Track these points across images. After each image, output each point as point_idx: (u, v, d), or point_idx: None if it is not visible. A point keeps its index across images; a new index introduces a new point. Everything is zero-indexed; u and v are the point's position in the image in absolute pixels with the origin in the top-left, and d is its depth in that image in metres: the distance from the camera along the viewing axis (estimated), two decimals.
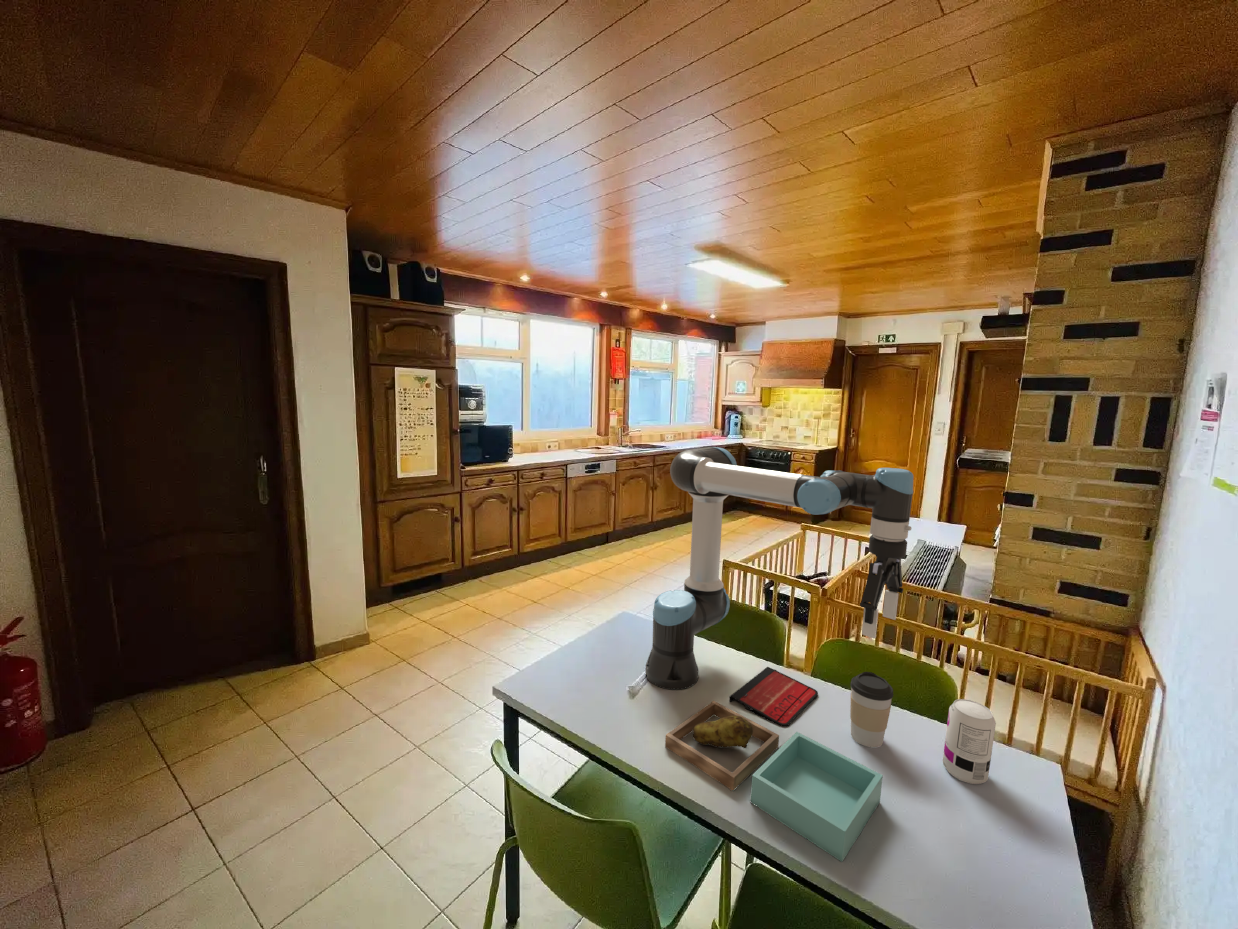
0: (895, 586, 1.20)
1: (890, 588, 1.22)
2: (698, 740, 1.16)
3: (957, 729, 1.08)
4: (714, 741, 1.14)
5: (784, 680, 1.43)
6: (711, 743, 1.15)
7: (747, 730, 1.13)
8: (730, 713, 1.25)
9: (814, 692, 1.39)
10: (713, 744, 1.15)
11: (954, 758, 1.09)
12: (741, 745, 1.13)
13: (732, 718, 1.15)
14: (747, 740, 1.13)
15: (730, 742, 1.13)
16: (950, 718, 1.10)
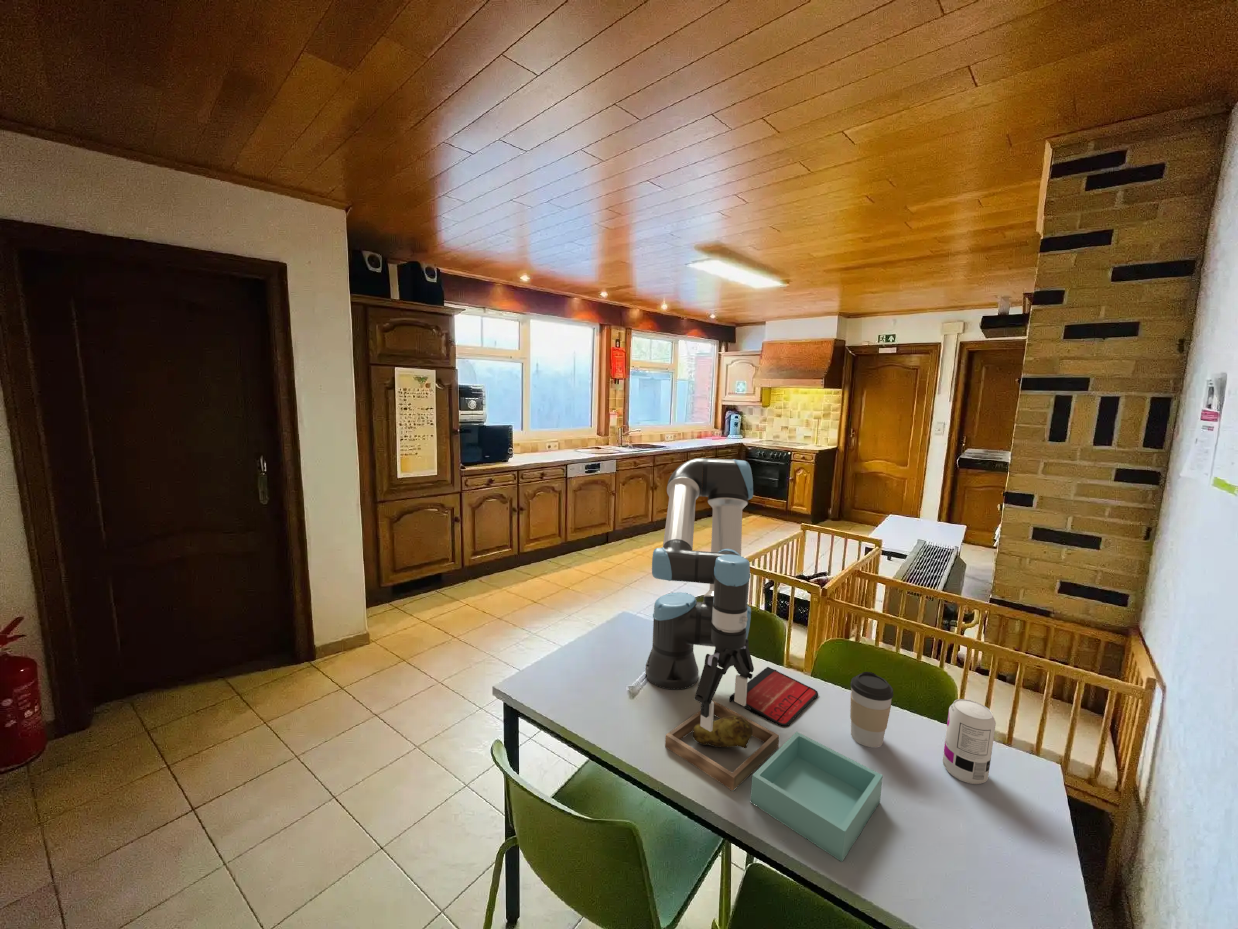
0: (743, 672, 1.18)
1: (740, 673, 1.20)
2: (698, 740, 1.16)
3: (957, 729, 1.08)
4: (714, 741, 1.14)
5: (784, 681, 1.43)
6: (711, 743, 1.15)
7: (747, 731, 1.13)
8: (730, 713, 1.25)
9: (814, 692, 1.38)
10: (713, 744, 1.15)
11: (954, 758, 1.09)
12: (741, 745, 1.13)
13: (732, 718, 1.15)
14: (747, 740, 1.13)
15: (729, 742, 1.13)
16: (950, 718, 1.10)
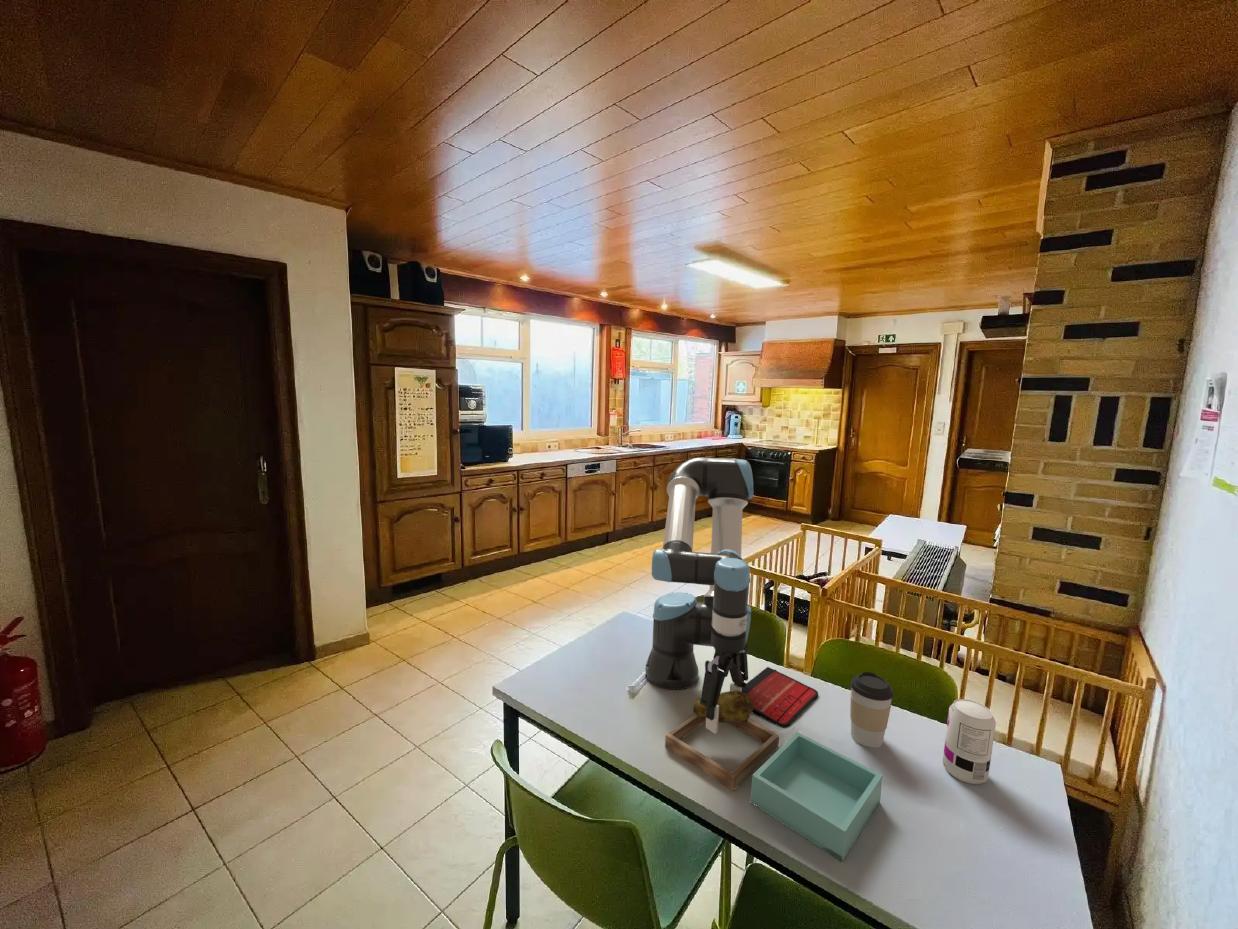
0: (738, 679, 1.18)
1: (735, 682, 1.20)
2: (699, 714, 1.16)
3: (957, 729, 1.08)
4: None
5: (784, 681, 1.43)
6: None
7: (748, 705, 1.13)
8: None
9: (814, 692, 1.38)
10: None
11: (954, 758, 1.09)
12: (742, 719, 1.13)
13: (733, 693, 1.15)
14: (748, 715, 1.13)
15: (730, 716, 1.13)
16: (950, 718, 1.10)
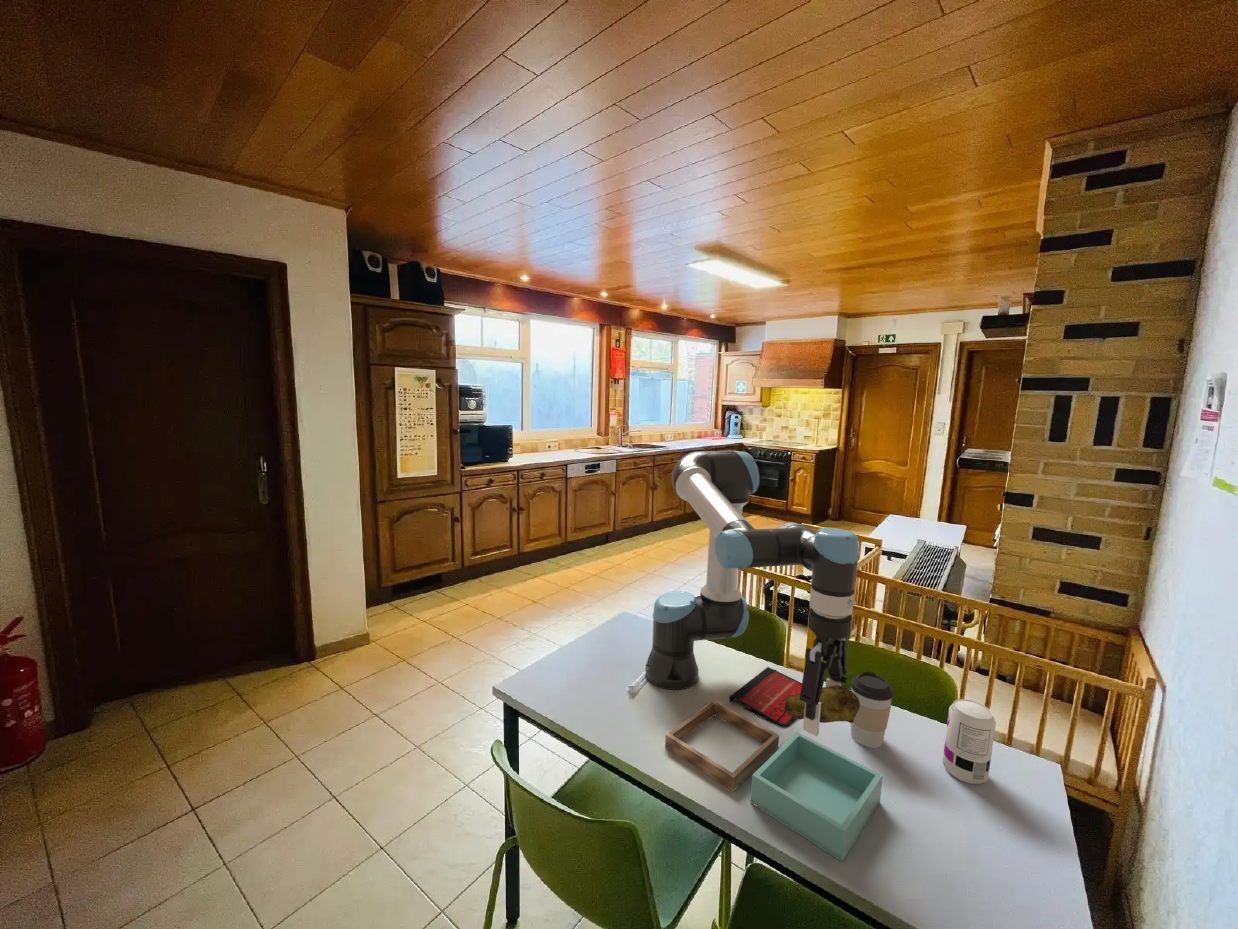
0: (838, 673, 1.01)
1: (832, 677, 1.02)
2: (793, 714, 0.99)
3: (957, 729, 1.08)
4: None
5: (784, 681, 1.43)
6: None
7: (854, 702, 0.95)
8: (730, 713, 1.25)
9: None
10: None
11: (954, 758, 1.09)
12: (847, 719, 0.95)
13: (834, 688, 0.98)
14: (855, 713, 0.95)
15: (834, 715, 0.95)
16: (950, 718, 1.10)
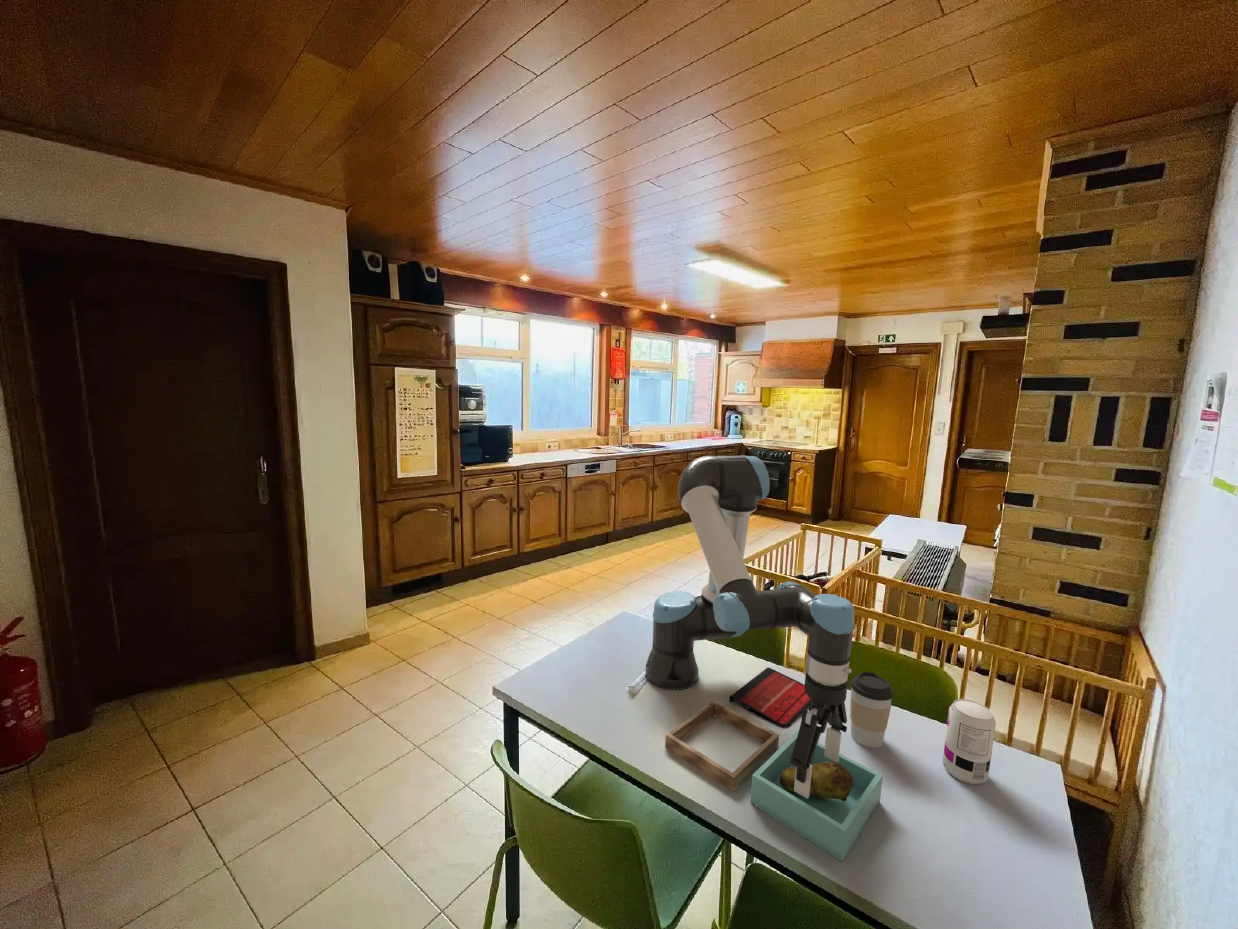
0: (837, 725, 1.04)
1: (832, 725, 1.06)
2: (788, 788, 1.01)
3: (957, 729, 1.08)
4: None
5: (784, 681, 1.43)
6: None
7: (848, 781, 0.97)
8: (730, 713, 1.25)
9: None
10: None
11: (954, 758, 1.09)
12: (840, 798, 0.98)
13: (828, 765, 1.00)
14: (848, 792, 0.97)
15: (827, 794, 0.97)
16: (950, 718, 1.10)
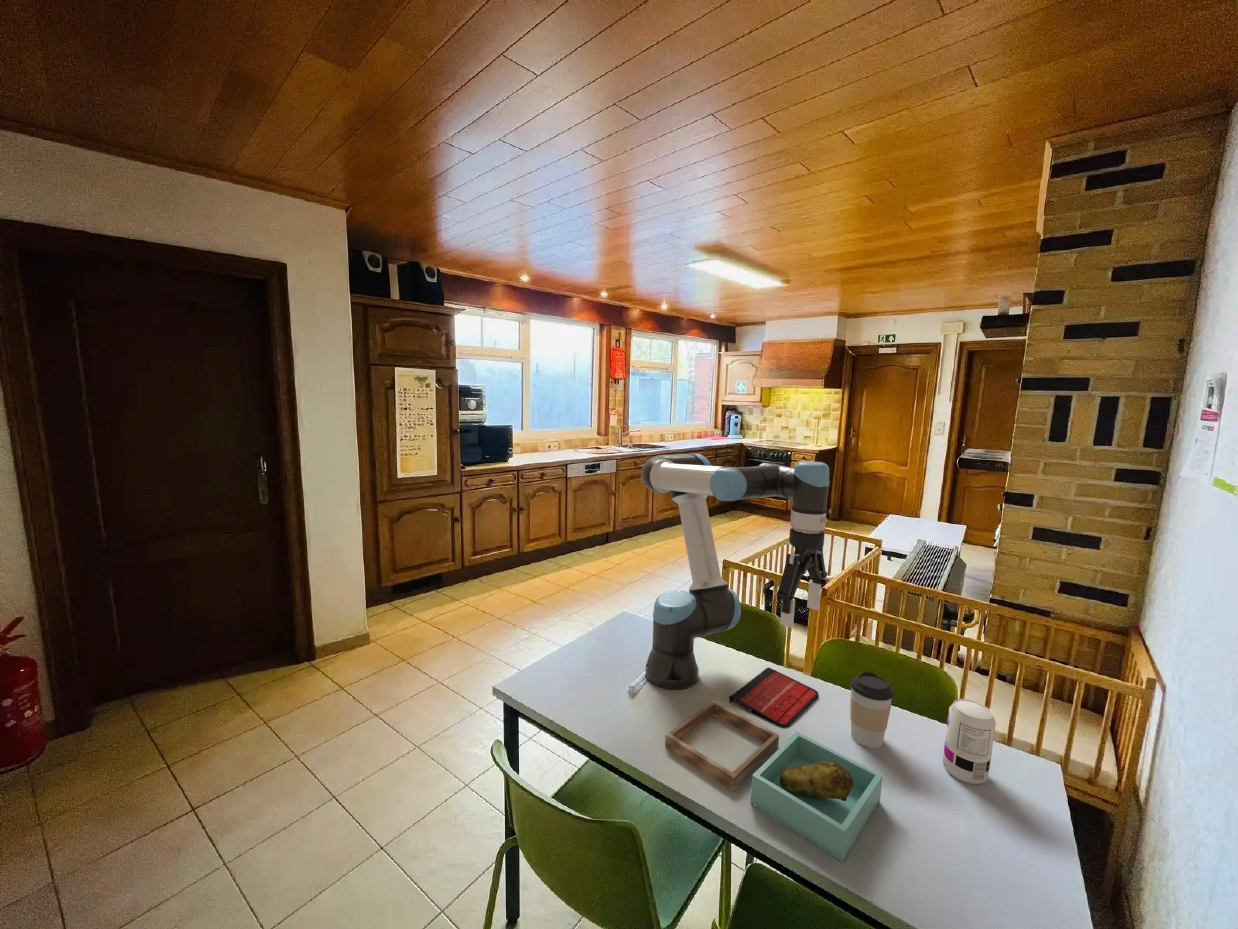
0: (817, 577, 1.23)
1: (814, 579, 1.25)
2: (787, 788, 1.01)
3: (957, 729, 1.08)
4: (808, 791, 0.99)
5: (784, 681, 1.42)
6: (804, 793, 1.00)
7: (847, 781, 0.97)
8: (730, 713, 1.25)
9: (814, 693, 1.38)
10: (806, 794, 1.00)
11: (954, 758, 1.09)
12: (840, 798, 0.98)
13: (828, 765, 1.00)
14: (847, 792, 0.97)
15: (827, 794, 0.97)
16: (950, 718, 1.10)
